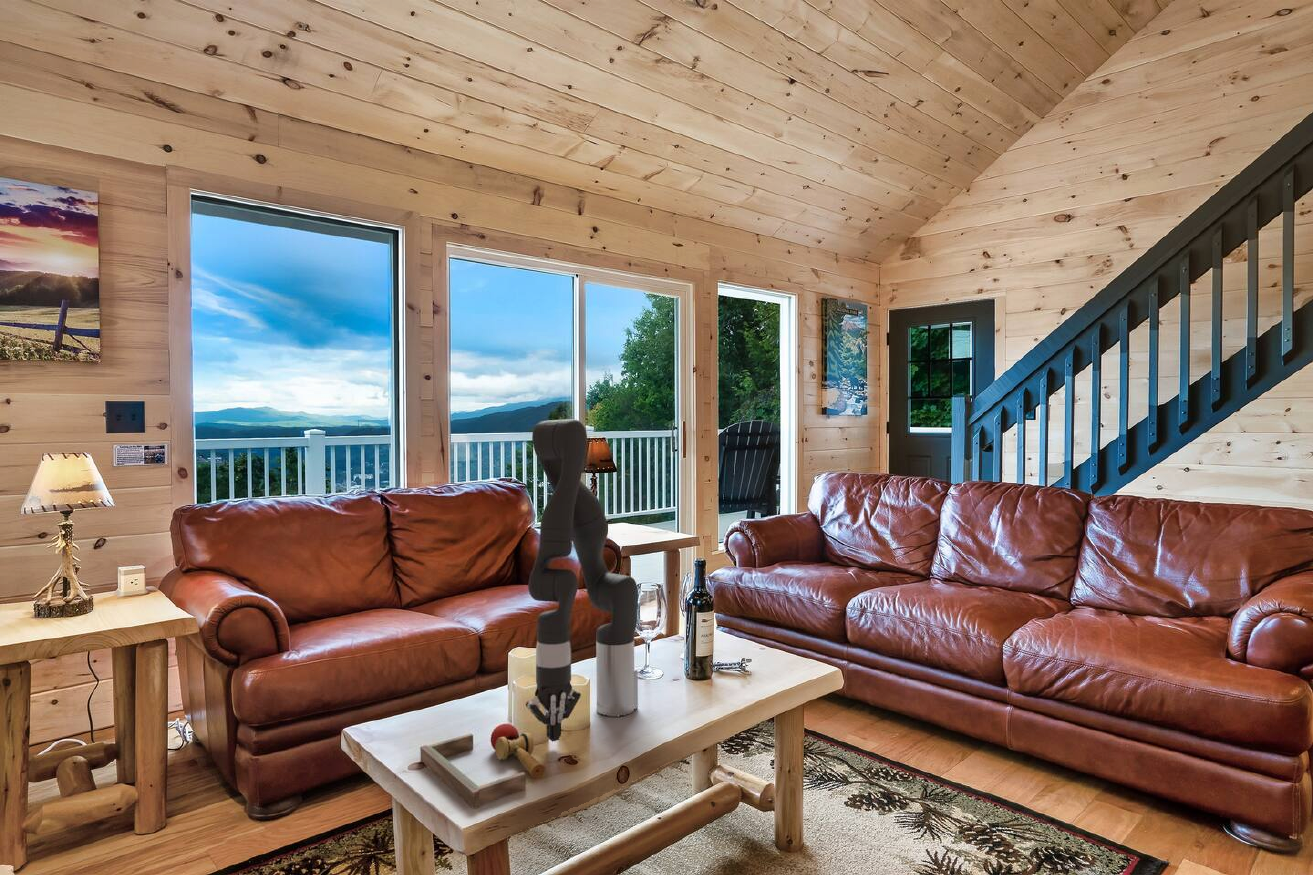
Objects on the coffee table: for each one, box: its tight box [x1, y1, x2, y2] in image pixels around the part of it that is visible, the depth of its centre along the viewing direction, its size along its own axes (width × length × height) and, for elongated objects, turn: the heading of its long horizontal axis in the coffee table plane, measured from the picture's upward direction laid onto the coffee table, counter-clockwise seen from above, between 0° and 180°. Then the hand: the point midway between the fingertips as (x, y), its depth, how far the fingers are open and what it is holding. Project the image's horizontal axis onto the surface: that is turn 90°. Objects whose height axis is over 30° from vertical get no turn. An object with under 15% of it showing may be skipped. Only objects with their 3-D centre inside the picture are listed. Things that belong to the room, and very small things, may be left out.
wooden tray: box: [419, 733, 527, 809], centre depth 158 cm, size 11×25×3 cm, turn 39°
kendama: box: [490, 723, 546, 779], centre depth 164 cm, size 8×6×18 cm
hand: (553, 739), depth 170 cm, fingers closed
